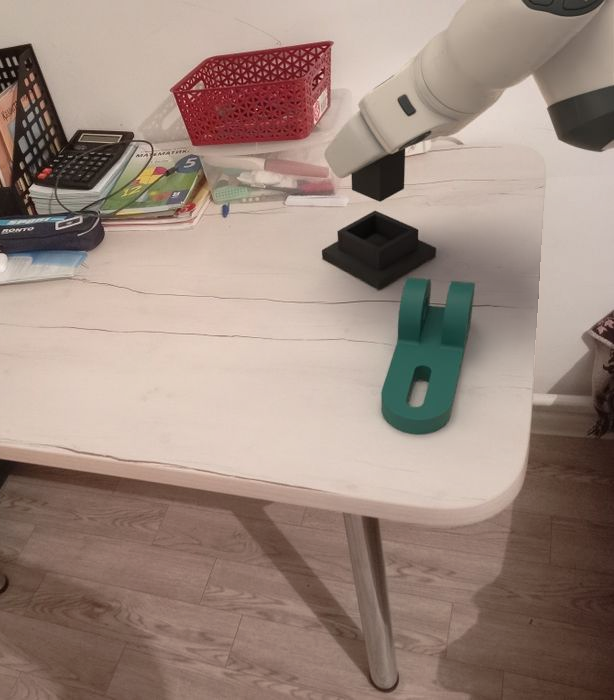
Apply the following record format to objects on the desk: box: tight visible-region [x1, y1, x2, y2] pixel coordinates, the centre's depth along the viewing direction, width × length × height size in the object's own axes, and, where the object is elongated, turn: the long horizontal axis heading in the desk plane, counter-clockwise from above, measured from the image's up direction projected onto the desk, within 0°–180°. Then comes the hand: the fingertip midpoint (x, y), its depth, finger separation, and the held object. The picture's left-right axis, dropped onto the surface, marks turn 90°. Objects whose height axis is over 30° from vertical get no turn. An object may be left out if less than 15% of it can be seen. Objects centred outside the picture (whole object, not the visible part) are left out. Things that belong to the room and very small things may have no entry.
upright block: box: [350, 148, 406, 203], centre depth 77 cm, size 5×4×9 cm
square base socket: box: [321, 210, 437, 291], centre depth 85 cm, size 11×10×4 cm
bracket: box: [380, 276, 476, 435], centre depth 66 cm, size 18×7×8 cm, turn 151°
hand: (373, 153), depth 77 cm, fingers closed on upright block, 4 cm apart
